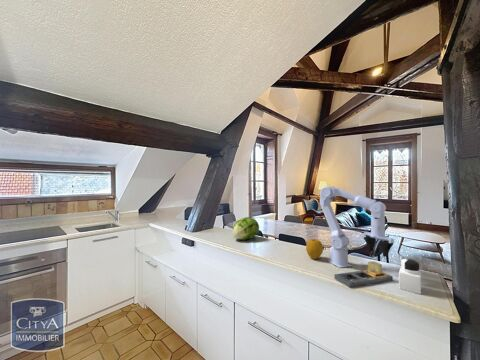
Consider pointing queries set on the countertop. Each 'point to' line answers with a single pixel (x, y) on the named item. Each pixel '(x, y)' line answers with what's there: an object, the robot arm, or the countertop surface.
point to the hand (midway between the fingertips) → (377, 253)
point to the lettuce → (245, 228)
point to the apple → (314, 248)
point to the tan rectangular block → (375, 268)
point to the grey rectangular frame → (359, 280)
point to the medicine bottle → (410, 276)
